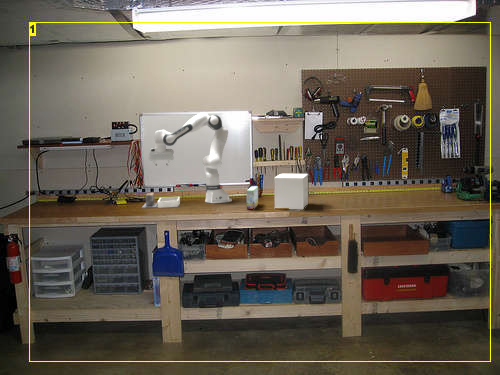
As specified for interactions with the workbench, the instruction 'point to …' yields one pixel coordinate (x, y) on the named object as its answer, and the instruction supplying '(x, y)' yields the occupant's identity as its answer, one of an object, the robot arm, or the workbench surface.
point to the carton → (168, 202)
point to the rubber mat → (150, 206)
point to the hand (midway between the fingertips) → (161, 165)
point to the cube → (291, 191)
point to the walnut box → (150, 199)
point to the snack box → (252, 197)
